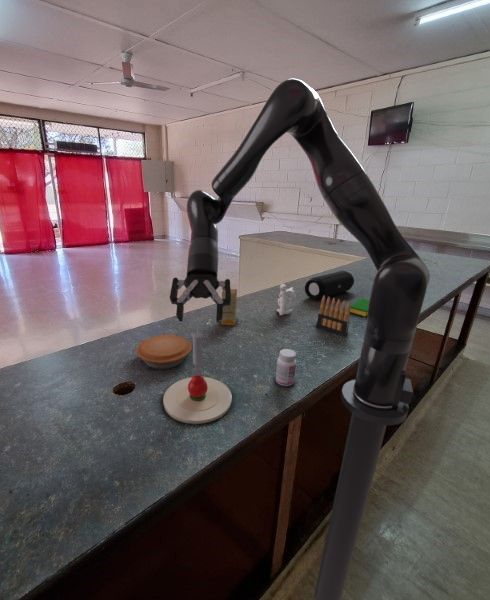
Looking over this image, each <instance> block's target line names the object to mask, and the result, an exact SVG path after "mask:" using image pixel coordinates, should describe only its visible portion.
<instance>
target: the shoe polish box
mask: <svg viewBox="0 0 490 600" xmlns="http://www.w3.org/2000/svg"><path fill="white" fill-rule="evenodd" d="M230 290H231V304H230V305H229V306H224V307H223V318H222V320H220V321H221V322H220V325H221V326H232V327H235V326H236V322H237V304H238V303H237V302H238V289H235V288H230ZM221 299H225V290H222V292H221Z"/></svg>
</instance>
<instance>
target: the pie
mask: <svg viewBox="0 0 490 600" xmlns="http://www.w3.org/2000/svg"><path fill="white" fill-rule="evenodd" d="M191 351H193V344H192V343H191V342H190V341H189V340H188V339H187V338H184V337H181V336H179V335H174V334H159V335H154V336H151V337H149V338H145V339H144V340H143V341H141V342H139V344H138V345H137V347H136V355H137V356H138V358H140V359H141V360H142V361H143V362H144V363H145V365H147V366H148V367H150V368H152V369H156V370H157V369H158V370H166V369H167V370H169V369H173V368H176V367H177V366H180V365H181V364H182V363H184V361H185V359H186V358H187V357H188V355H189V354H190V353H191Z"/></svg>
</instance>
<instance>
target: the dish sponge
mask: <svg viewBox="0 0 490 600" xmlns="http://www.w3.org/2000/svg"><path fill="white" fill-rule="evenodd" d="M369 301H370V299H367V298H362V297H361V298H359V299H358V300H357V301H355V302H354V303H351V304H350V313H352V314H355V315H359V316H362V317H367V312H368V307H369Z"/></svg>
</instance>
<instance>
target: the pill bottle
mask: <svg viewBox="0 0 490 600" xmlns="http://www.w3.org/2000/svg"><path fill="white" fill-rule="evenodd" d="M296 358H297V353H296V352H295V351H294V350H293V349H289V348H283V349H280V351H279V355H278V358H277V361H276V371H275V372H276V373H275V382H276V383H277V384H278V385H280V386H283V387H289V386H292V385H293V384H294V383H295V377H296V369H297V360H296Z"/></svg>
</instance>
